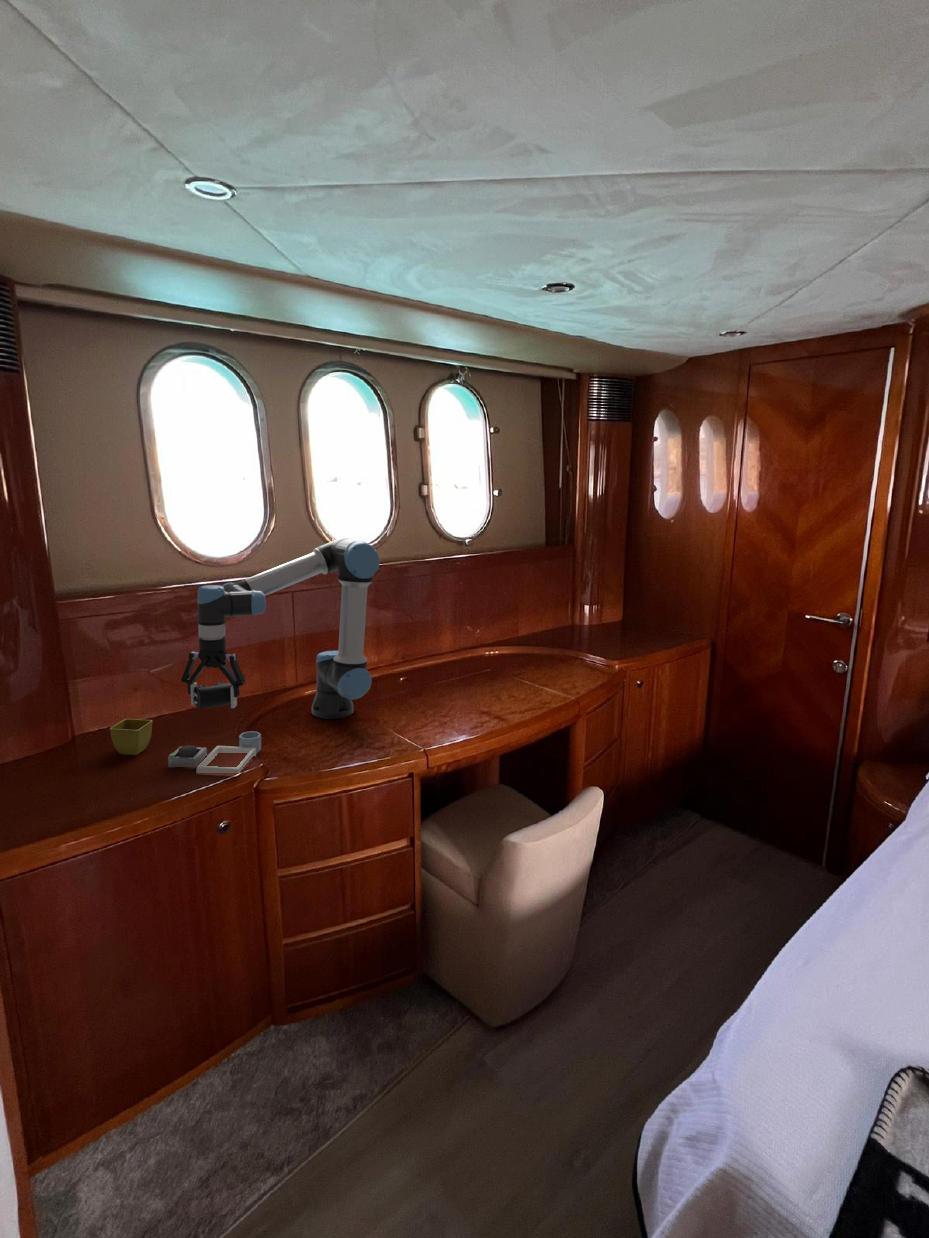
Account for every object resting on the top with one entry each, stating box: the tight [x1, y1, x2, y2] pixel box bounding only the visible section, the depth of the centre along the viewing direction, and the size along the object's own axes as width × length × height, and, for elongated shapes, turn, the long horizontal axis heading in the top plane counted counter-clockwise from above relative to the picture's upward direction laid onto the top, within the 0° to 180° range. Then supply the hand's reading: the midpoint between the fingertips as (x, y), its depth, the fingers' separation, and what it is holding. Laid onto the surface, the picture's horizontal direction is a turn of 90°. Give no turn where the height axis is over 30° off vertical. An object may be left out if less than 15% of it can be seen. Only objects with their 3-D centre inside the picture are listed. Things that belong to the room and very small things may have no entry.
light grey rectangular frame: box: [196, 745, 257, 774], centre depth 188 cm, size 12×15×2 cm
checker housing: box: [167, 745, 208, 768], centre depth 188 cm, size 8×8×4 cm
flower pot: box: [109, 718, 153, 756], centre depth 192 cm, size 9×9×9 cm
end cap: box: [194, 681, 232, 710], centre depth 195 cm, size 10×7×7 cm
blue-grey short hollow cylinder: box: [238, 730, 262, 754], centre depth 198 cm, size 6×6×5 cm
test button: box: [177, 745, 198, 757], centre depth 188 cm, size 5×5×3 cm
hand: (214, 705), depth 195 cm, fingers closed on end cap, 12 cm apart
